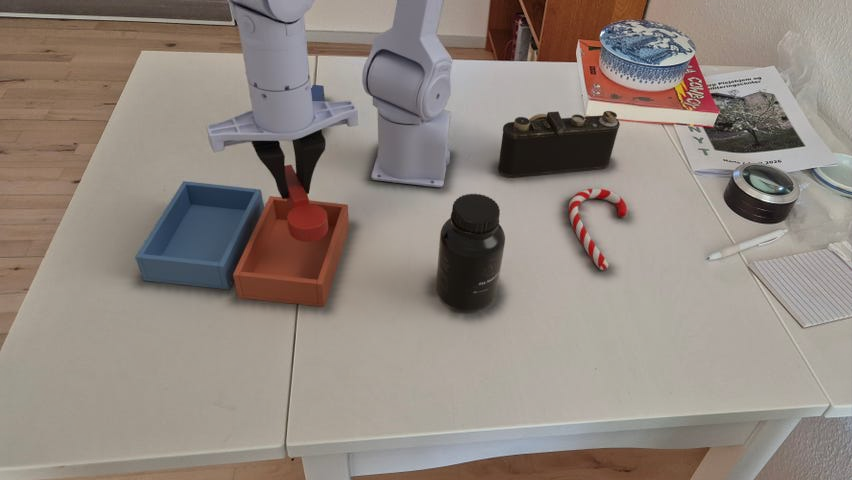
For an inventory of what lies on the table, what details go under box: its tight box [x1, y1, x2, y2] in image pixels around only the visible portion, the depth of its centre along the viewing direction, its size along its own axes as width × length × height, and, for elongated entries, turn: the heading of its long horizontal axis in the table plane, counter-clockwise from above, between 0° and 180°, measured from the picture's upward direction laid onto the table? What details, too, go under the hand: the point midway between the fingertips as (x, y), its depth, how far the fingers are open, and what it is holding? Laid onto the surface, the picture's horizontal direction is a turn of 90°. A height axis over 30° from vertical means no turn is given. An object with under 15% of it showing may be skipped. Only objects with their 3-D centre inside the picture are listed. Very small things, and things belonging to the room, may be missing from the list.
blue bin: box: [134, 180, 265, 290], centre depth 75 cm, size 9×13×4 cm
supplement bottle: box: [435, 193, 506, 312], centre depth 71 cm, size 7×7×12 cm
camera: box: [497, 110, 621, 179], centre depth 92 cm, size 16×7×8 cm, turn 106°
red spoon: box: [285, 164, 328, 242], centre depth 71 cm, size 10×4×3 cm, turn 27°
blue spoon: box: [311, 84, 326, 102], centre depth 96 cm, size 10×4×3 cm, turn 176°
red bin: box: [233, 195, 350, 308], centre depth 75 cm, size 9×13×4 cm
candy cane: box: [568, 188, 628, 271], centre depth 84 cm, size 8×1×15 cm
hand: (293, 191), depth 72 cm, fingers closed on red spoon
